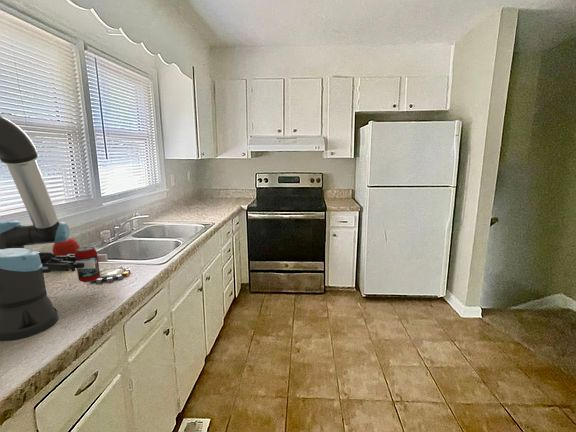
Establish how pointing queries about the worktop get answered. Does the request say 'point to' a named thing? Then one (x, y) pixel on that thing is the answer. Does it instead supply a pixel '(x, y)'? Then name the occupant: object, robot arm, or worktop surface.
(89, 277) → the beverage can
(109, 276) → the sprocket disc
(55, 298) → the worktop surface
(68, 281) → the worktop surface
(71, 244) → the apple
